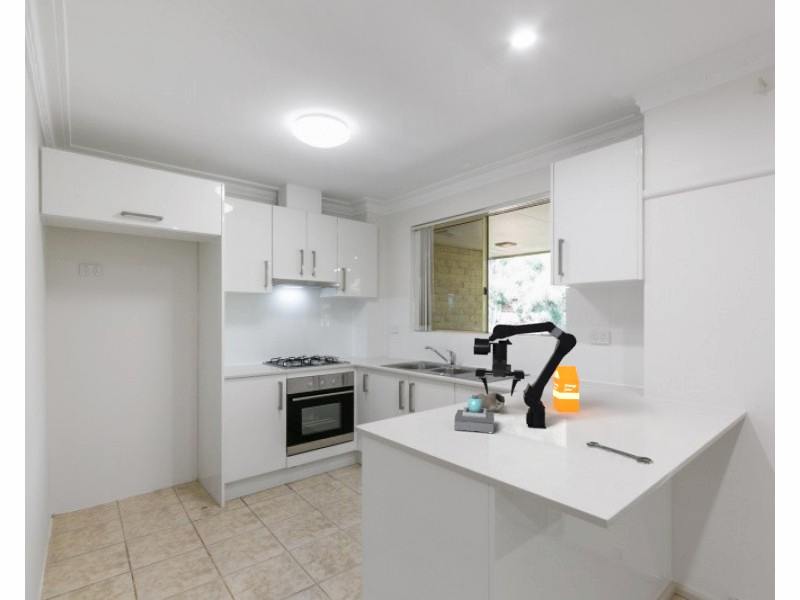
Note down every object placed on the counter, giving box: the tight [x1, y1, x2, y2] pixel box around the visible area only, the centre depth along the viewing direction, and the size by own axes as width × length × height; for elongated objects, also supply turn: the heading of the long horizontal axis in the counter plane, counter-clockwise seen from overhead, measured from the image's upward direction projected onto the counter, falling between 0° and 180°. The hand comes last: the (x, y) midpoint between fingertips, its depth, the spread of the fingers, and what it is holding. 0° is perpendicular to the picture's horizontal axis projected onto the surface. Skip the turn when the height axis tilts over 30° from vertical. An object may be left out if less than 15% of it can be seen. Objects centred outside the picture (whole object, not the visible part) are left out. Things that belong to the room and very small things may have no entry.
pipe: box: [476, 392, 506, 413], centre depth 184 cm, size 16×9×15 cm
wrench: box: [586, 441, 653, 465], centre depth 130 cm, size 5×2×20 cm
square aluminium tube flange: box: [453, 406, 495, 434], centre depth 157 cm, size 14×13×6 cm
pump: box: [467, 394, 482, 413], centre depth 157 cm, size 5×5×7 cm
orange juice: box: [552, 365, 580, 414], centre depth 186 cm, size 8×9×20 cm
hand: (499, 395), depth 163 cm, fingers open, 9 cm apart
